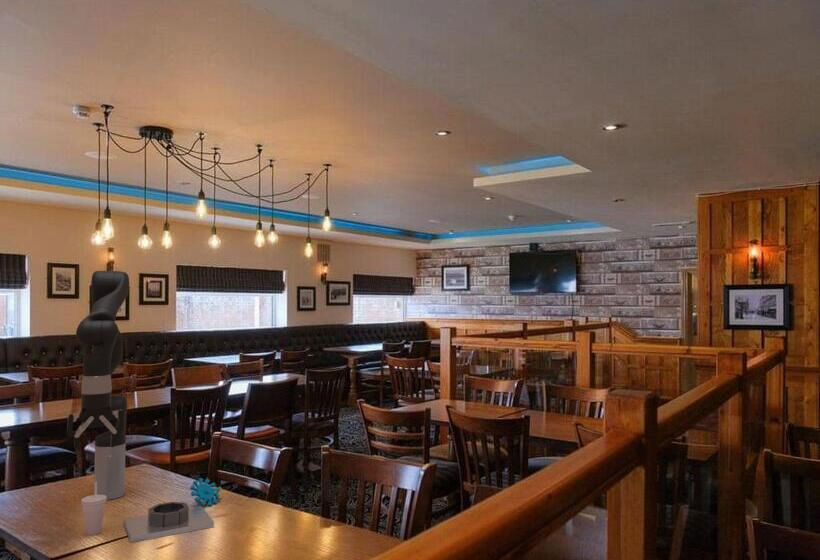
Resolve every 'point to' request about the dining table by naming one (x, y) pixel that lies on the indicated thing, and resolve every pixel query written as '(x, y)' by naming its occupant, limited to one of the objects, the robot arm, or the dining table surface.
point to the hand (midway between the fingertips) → (95, 448)
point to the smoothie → (93, 512)
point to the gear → (205, 492)
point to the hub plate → (167, 521)
